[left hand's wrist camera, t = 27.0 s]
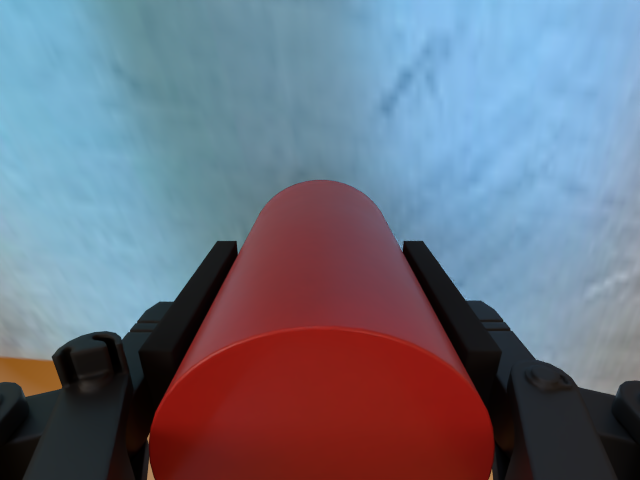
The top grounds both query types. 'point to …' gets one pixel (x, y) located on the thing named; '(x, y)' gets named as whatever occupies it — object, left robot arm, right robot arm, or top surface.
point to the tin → (321, 361)
